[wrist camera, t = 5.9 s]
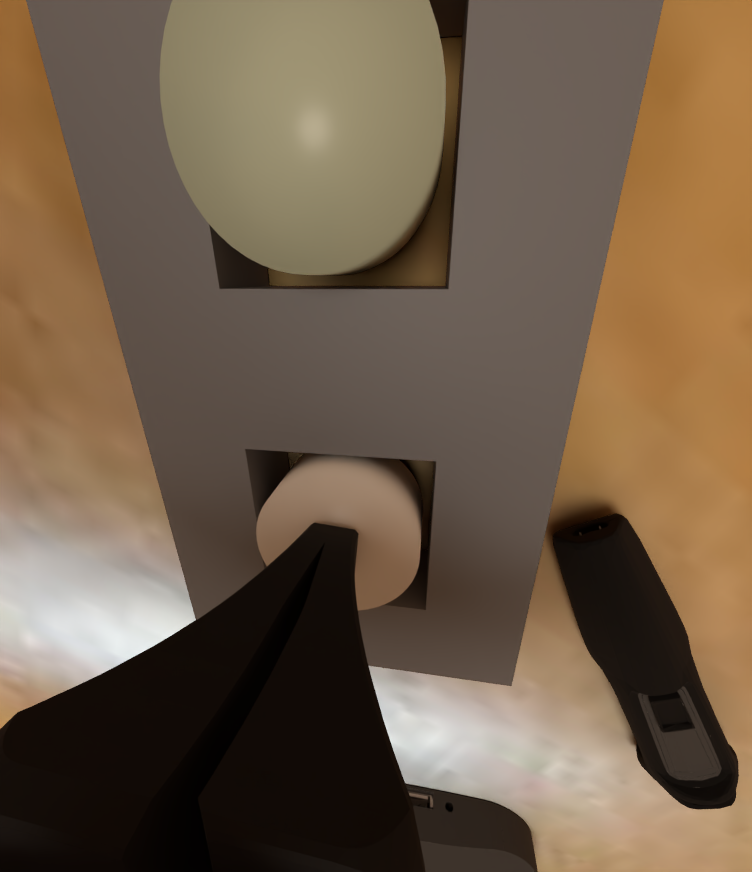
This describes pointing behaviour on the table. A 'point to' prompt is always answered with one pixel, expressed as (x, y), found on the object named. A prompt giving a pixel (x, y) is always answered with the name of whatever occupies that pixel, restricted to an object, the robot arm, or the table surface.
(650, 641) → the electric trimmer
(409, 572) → the cream button
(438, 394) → the button panel
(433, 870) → the media streaming box
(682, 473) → the table surface
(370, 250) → the sage button
